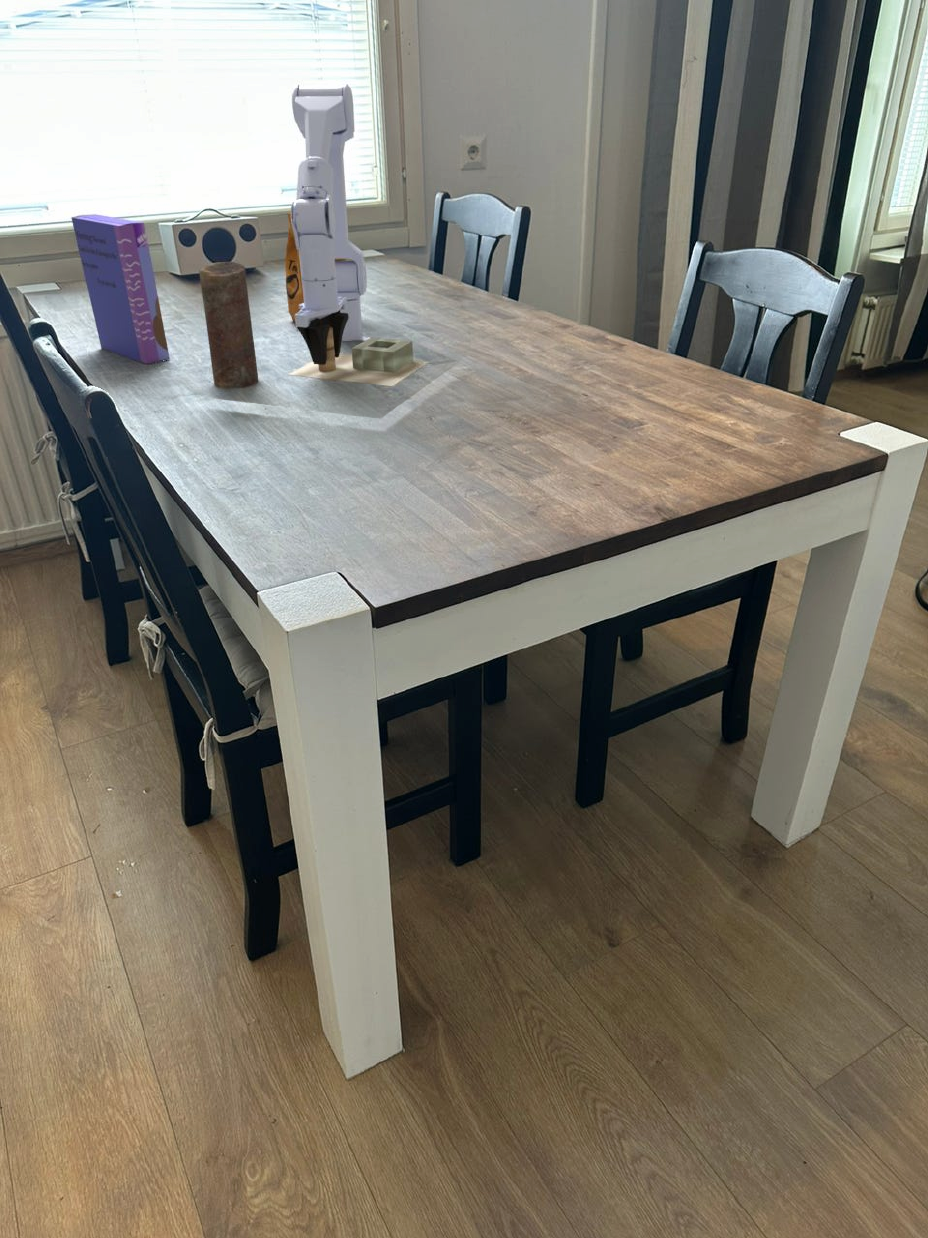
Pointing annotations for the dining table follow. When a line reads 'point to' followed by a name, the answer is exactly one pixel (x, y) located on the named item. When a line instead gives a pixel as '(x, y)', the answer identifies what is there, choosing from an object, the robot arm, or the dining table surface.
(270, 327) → the dining table surface
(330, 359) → the peg
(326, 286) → the robot arm
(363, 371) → the board
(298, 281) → the coffee package
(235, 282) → the brown faceted post
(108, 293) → the cereal box
